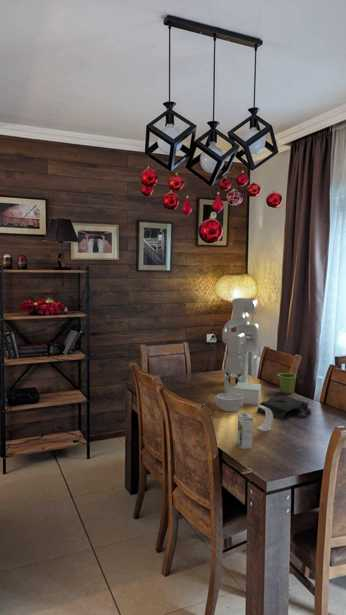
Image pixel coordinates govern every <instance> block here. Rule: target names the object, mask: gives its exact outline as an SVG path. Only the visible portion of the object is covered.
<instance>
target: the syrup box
mask: <svg viewBox="0 0 346 615" xmlns="http://www.w3.org/2000/svg"><path fill="white" fill-rule="evenodd" d="M237 415H238V416H237V436H236V437H237V438H236V441H237V442H236V445H237V447H238V449H239V450H251V449H252V448H253V430H254V428H253V427H254V417H253V416H252V414H251V413H246V412H244V413H243V412H242V413H240V412H239V413H238V414H237Z"/></svg>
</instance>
